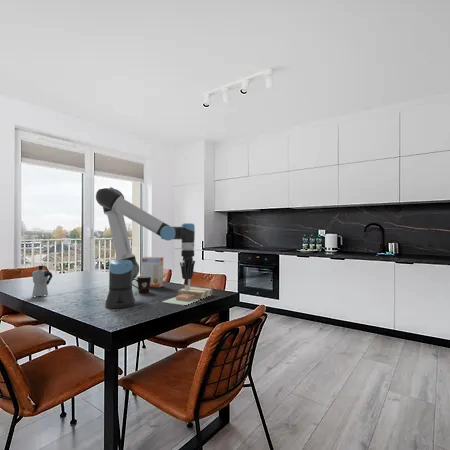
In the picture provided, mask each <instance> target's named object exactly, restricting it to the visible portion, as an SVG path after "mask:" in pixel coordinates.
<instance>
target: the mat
mask: <svg viewBox="0 0 450 450" xmlns="http://www.w3.org/2000/svg"><path fill="white" fill-rule="evenodd" d="M198 300H199V301H201V300H200V299H192V300H190V301H181V300H176V296H175V297H172V298H169V299H165V300H163V301H161V303H163V304H170V305H178V306H184V305H187V306H189V305H192V304H194V303H196V301H197V302H199V301H198ZM193 302H194V303H193ZM191 303H192V304H191ZM188 304H189V305H188Z"/></svg>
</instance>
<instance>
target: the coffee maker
mask: <svg viewBox="0 0 450 450" xmlns="http://www.w3.org/2000/svg"><path fill="white" fill-rule="evenodd" d="M43 268H44V265H38V269H37V270H33V271H32V272H31V274H32V282H33V289H32V294H31V297H32V296H44V295H48V296H49V291H48V285H49V284H50V282H51V280H52V278H53V273H52V272H51V271H50V270H47V269H46V270H45V269H43Z"/></svg>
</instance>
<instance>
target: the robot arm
mask: <svg viewBox="0 0 450 450" xmlns="http://www.w3.org/2000/svg"><path fill="white" fill-rule="evenodd" d="M95 200H96V202H97V204H99V206H100V207H102V209H103V214H104V215H106V216H107V219H108V220H107V221H108V223H109V224H108V225H109V229H110V234H111V237H112V242H113V248H114V253H115V258H114V260H112V261H111V262H110V263H109V268H108V270H109V272H108V273H109V274H108V275H109V278H108V279H109V281H108V293H107V298H106V300H105V301H104V307H105V308H108V309H127V308H130V307H134V306H135V305H136V298H135V295H134V292H133V285H132V284H133V281H134V280H133V279H136V278H137V277H138V275H139V273H140V265H139V264H138V262H137V259H136V255H135V254H133V253H132V248H131V243H130V238H129V235H128V230H127V226H126V221H125V218H127V219H130V220H131V221H133V222H135V223H136V224H138V225H140V226H142V227H143V228H144V229H147V230H149V231H151V232H152V233H153V234H156V235H157V236H159V237H160V239H161V240H165V241H172V240H181V254H180V255H181V257H182V261H181V262H180V263H179V265H180V270H181V271H180V272H181V278H182V279H183V280H184V288H185V290H188V291H189V290H190V287H191V280H192V279H193V275H194V269H195V263H196V260H194V258H193V257H195V233H196V231H195V230H196V229H195V224H194V223H192V222H191V223H190V222H189V223H181V226H171V225H170V224H168V223H165V222H164V221H162V220H161V219H160V218H157V217H155V216H154V215H152V214H151V213H149V212H147V211H145V210H144V209H141V208H140V207H139V206H136V205H135V204H133V203H131V201H128V200H127V199H125V196H124V194H123V193H122V191H120V190H119V189H116V188H114V187H112V186H107V185H106V186H101V187H100V188H99V189H98V190H97V191H96V193H95ZM132 280H133V281H132Z"/></svg>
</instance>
